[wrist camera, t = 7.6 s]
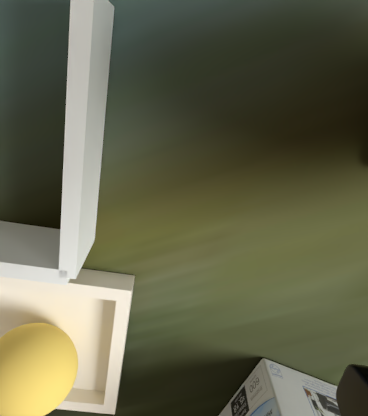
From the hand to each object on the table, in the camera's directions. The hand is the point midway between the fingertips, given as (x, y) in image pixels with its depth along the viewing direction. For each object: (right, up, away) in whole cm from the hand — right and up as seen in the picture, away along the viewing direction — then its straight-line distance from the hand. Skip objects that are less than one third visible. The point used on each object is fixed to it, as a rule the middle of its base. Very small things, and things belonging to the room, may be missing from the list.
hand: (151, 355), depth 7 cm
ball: (-8, -5, +14) cm, 17 cm away
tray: (-8, -5, +15) cm, 17 cm away
